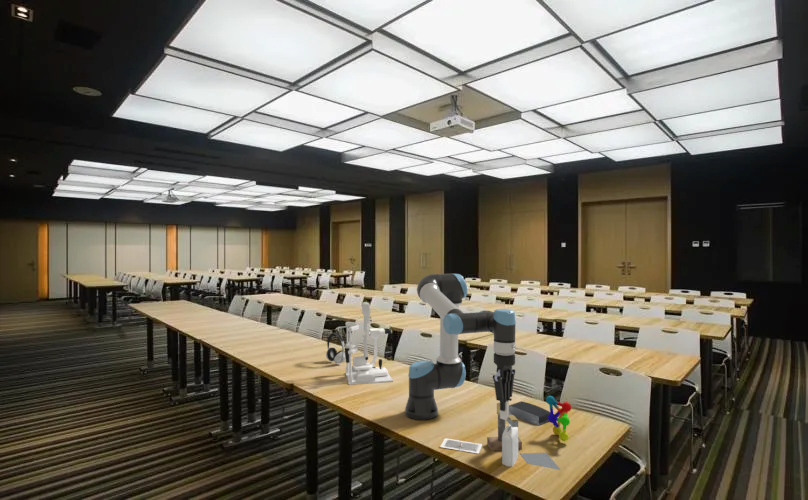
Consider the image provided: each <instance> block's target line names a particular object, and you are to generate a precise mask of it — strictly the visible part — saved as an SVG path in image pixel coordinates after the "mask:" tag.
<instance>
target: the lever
mask: <svg viewBox="0 0 808 500" xmlns="http://www.w3.org/2000/svg"><path fill="white" fill-rule="evenodd" d="M496 414H497V416H498V415H500V402H497V403H496ZM505 422H507V423H508V425H511V426H512V427H517V428H518V427H519V418H517V417H515V416H514V415H512V414H511V413H510V412H509V419H508V420H505Z"/></svg>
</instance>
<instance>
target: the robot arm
mask: <svg viewBox="0 0 808 500" xmlns="http://www.w3.org/2000/svg"><path fill="white" fill-rule="evenodd" d="M416 293H417V295H418V297H419V298H420V300H421V302H423V303H425V304H428V305H429V306H430V307H431V309H432V310H433V311H434V312H435V313H436V314H437V315H438V316H439V317H440V319H439V320H440V321H439V355H438V356H437V357H436V361H435V362H436V363H434V362H433V361H432V360H418V361H415V362H413V363H412V364H411V365H410V366H409V367H408V373H407V374H408V398H407V402H406V405H405V409H404V411H405V412H404V413H405V416H406V417H408V418H409V419H413V420H418V421H419V420H421V421H422V420H423V421H424V420H430V419H433V418H436V417H437V416H439V415H438V414H439V412H438V411H439V410H438V409H439V408H438V406H437V402H436V399H435V391H436V390H445V389H455V388H458V387H461V386H463V384H464V383H465V381H466V375H467V372H466V370H467V369H466V366H465V364H464V362H462V359H461V358H460V356H459V335H462V334H463V335H464V334H473V333H474V334H476V333H477V334H478V333H492V334H493V352H494V353H493V364H494V365H495V366H496V370H495V372H496V374H493V375H492V379H493V382H494V390H495V399H496V401H499V403H500V419H504V420H505V421H506V420H508V419H509V405H510V404H509V403H510V402H512V397H513V389H514V381H515V375H516V369H513V366H515V364H516V354H515V353H516V348H517V345H516V323H517V322H516V312H515V311H514V310H513V309H506V308H499V309H495V310H494V311H491V310H481V311H478V312H464V311H462V310H461V309H460V308H459V307H460V306H461V305H462V304H463V299H465V298H466V297H467V295H468V285H467V282H466V280H465V278H464V276H463V275H461V274H460V273H437V274H435V273H432V274H431V273H430V274H428V275H425V276H423V277H422V278H421V279H420V280H419V281H418V284H417V287H416ZM509 401H510V402H509Z"/></svg>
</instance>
